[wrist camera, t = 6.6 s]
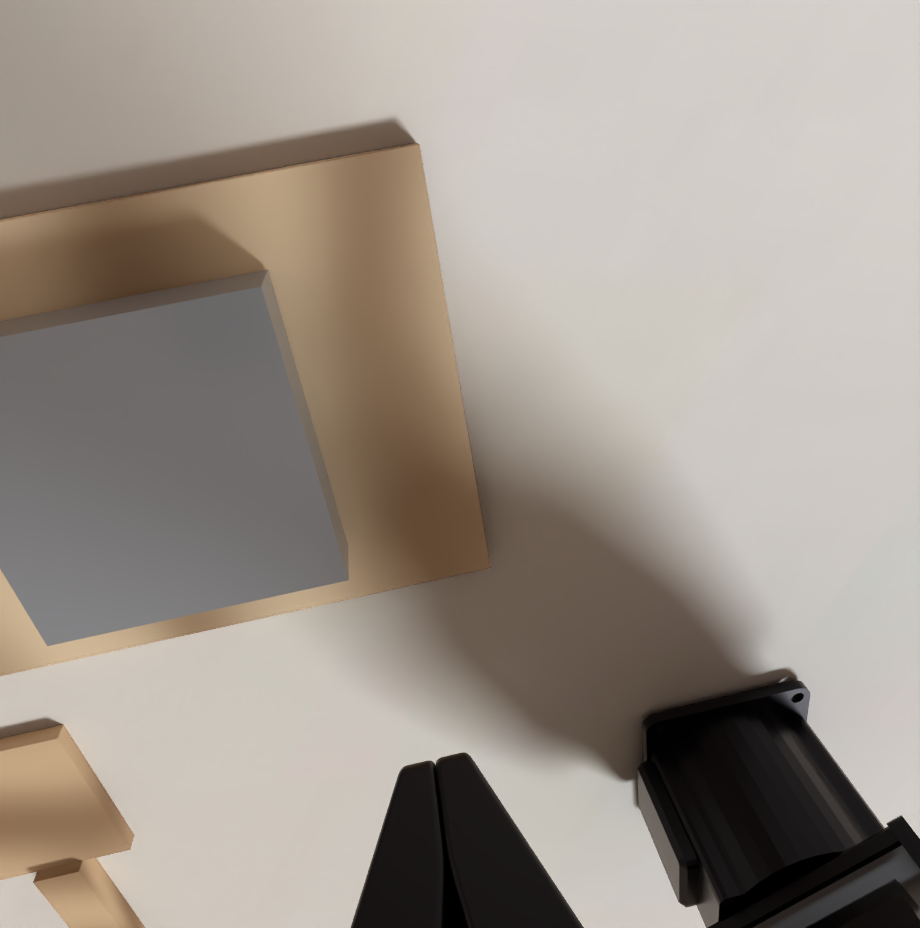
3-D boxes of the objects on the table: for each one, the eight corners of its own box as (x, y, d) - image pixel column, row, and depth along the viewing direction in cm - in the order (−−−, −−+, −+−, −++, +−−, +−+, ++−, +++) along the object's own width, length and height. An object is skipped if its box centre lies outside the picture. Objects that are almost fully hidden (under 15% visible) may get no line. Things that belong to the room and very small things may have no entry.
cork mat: (416, 142, 16) (419, 144, 15) (487, 556, 22) (490, 567, 21) (-306, 276, 15) (-329, 282, 15) (-31, 669, 21) (-40, 684, 20)
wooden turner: (-93, 758, 22) (-111, 786, 21) (64, 723, 23) (52, 749, 22) (107, 998, 30) (100, 1025, 29) (221, 970, 30) (218, 996, 30)
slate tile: (261, 286, 15) (-127, 361, 14) (348, 580, 19) (47, 646, 18) (268, 267, 16) (-82, 335, 16) (348, 543, 20) (70, 603, 20)
